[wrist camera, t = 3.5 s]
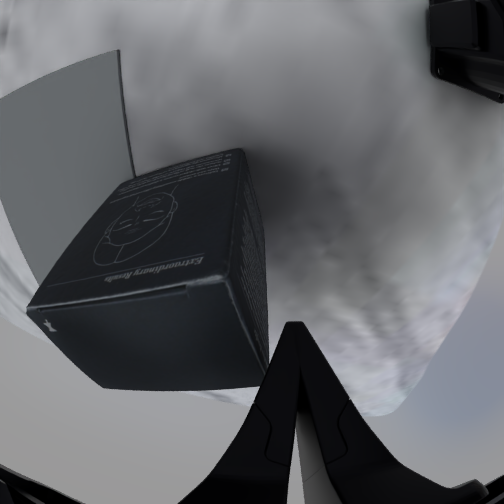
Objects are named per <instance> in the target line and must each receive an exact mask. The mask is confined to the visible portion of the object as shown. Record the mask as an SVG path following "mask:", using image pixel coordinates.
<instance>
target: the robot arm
mask: <svg viewBox="0 0 504 504" xmlns="http://www.w3.org/2000/svg"><path fill="white" fill-rule="evenodd" d="M430 4H431V6H430V7H429V9H430V42H431V44H432V55H431V72H432V75H433V76H434V77H435V78H437V79H440V80H443V81H446V82H449V83H452V84H454V85H457V86H460V87H462V88H465V89H468V90H470V91H473V92H475V93H478V94H480V95H482V96H485V97H487V98H489V99H491V100H493V101H496V102H498V103H501V104H502V103H504V0H430ZM438 68H440V70H441V74H440V75H439V73H438ZM499 95H500V97H499ZM295 427H296V434H297V441H298V449H299V457H300V465H301V474H302V482H303V491H304V499H305V504H504V475H502V476H500V477H498V478H496V479H495V480H493V481H491V482H489V483H487V484H486V485H483V484H482V483H480V482H479V481H478V480H476V479H474V480H471V481H468V482H466V483H463V484H460V485H458V486H455V487H452V488H446V487H443V486H441V485H439V484H437V483H435V482H433V481H431V480H429V479H427V478H425V477H423V476H421V475H420V474H418V473H416V472H414V471H412V470H411V469H409V468H407V467H405V466H404V465H403V464H401V463H400V462H399V461H398V460H397V459H396V458H394V456H393V455H392V454H391V453H390V452H389V450H388V449H387V448H386V447H385V446H384V444H383V443H382V442H381V441H380V439H379V438H378V437H377V436H376V435H375V433H374V432H373V431H372V430H371V429H370V427H369V426H368V425H367V423H366V422H365V421H364V419H363V418H362V416H361V415H360V413H359V412H358V410H357V408H356V407H355V405H354V404H353V402H352V400H351V399H350V397H349V396H348V394H347V392H346V391H345V389H344V387H343V386H342V384H341V382H340V381H339V379H338V378H337V376H336V374H335V373H334V371H333V369H332V368H331V366H330V365H329V363H328V361H327V360H326V358H325V356H324V355H323V353H322V352H321V350H320V348H319V347H318V345H317V343H316V342H315V340H314V339H313V337H312V335H311V334H310V332H309V330H308V329H307V327H306V326H305V324H304V323H303V322H302V321H290V322H286V324H285V326H284V329H283V331H282V334H281V336H280V339H279V341H278V344H277V347H276V349H275V352H274V354H273V357H272V359H271V361H270V364H269V366H268V369H267V371H266V374H265V376H264V378H263V381H262V383H261V386H260V388H259V390H258V393H257V395H256V397H255V400H254V403H253V404H252V406H251V408H250V411H249V413H248V415H247V417H246V419H245V421H244V423H243V425H242V427H241V428H240V430H239V432H238V433H237V435H236V437H235V438H234V440H233V441H232V443H231V444H230V446H229V447H228V449H227V450H226V452H225V453H224V454H223V456H222V457H221V459H220V460H219V462H218V463H217V464H216V466H215V467H214V469H213V470H212V471H211V472H210V474H209V475H208V476H207V477H206V478H205V479H204V480H203V481H202V482H201V483H200V484H199V485H198V486H197V487H196V488H195V489H194V490H192V491H191V492H190V493H189V494H188V495H187V496H186V497H185V498H183V499H182V500H181V501H180V502H179V503H178V504H287V494H288V483H289V474H290V466H291V460H292V452H293V444H294V436H295ZM0 504H85V503H82V502H80V501H78V500H76V499H74V498H71V497H69V496H67V495H65V494H63V493H61V492H59V491H57V490H55V489H53V488H50V487H48V486H46V485H44V484H42V483H40V482H37V481H35V480H33V479H30V478H28V477H26V476H23V475H21V474H19V473H17V472H15V471H13V470H11V469H9V468H7V467H5V466H3V465H1V464H0Z"/></svg>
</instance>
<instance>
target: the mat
mask: <svg viewBox="0 0 504 504" xmlns="http://www.w3.org/2000/svg"><path fill="white" fill-rule="evenodd" d="M134 178H135V172H134V167H133V162H132V156H131V150H130V144H129V138H128V131H127V124H126V117H125V109H124V101H123V92H122V82H121V70H120V57H119V50H114V51H111V52H107V53H104V54H101V55H98V56H95V57H92V58H89V59H86V60H83V61H80V62H78V63H75V64H72V65H70V66H67V67H65V68H62V69H60V70H57V71H55V72H53V73H50V74H48V75H46V76H43V77H41V78H39V79H37V80H35V81H33V82H31V83H29V84H27V85H25V86H23V87H21V88H19V89H17V90H15V91H13V92H12V93H10V94H8V95H6V96H5V97H3V98H1V99H0V199H1V202H2V205H3V207H4V210H5V213H6V215H7V218H8V221H9V223H10V226H11V228H12V230H13V233H14V235H15V237H16V240H17V242H18V244H19V246H20V249H21V251H22V253H23V255H24V257H25V259H26V261H27V263H28V265H29V267H30V269H31V271H32V273H33V275H34V277H35V279H36V281H37V283H38V284H39V286H40V285H41V283H42V282H43V280H44V279H45V278H46V276H47V275H48V273H49V272H50V270H51V269H52V267H53V266H54V264H55V263H56V261H57V260H58V259H59V258H60V256H61V255H62V253H63V252H64V250H65V249H66V248H67V247H68V245H69V244H70V243H71V241H72V240H73V239H74V238H75V236H76V235H77V234H78V233H79V231H80V230H81V229H82V227H83V226H84V225H85V224H86V223H87V221H88V220H89V219H90V218H91V217H92V215H93V214H94V213H95V212H96V211H97V209H98V208H99V207H100V206H101V205H102V204H103V203H104V201H105V200H106V199H107V198H108V197H109V196H110V194H112V192H113V191H114V190H115V189H116V188H117V187H118V186H119V185H120V184H121V183H123V182H126V181H128V180H131V179H134Z"/></svg>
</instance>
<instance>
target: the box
mask: <svg viewBox="0 0 504 504" xmlns="http://www.w3.org/2000/svg"><path fill="white" fill-rule="evenodd" d="M26 314H27V316H29V317H30V318H31V319H32V320H33V321H34V323H36V324H37V326H38V327H39V328H40V329H41V330H42V331H43V332H44V333H45V334H46V336H47V337H48V338H49V339H50V340H51V341H52V342H53V343H54V344H55V345H56V346H57V347H58V348H59V349H60V350H61V351H62V352H63V353H64V354H65V355H66V356H67V358H69V359H70V360H71V361H72V362H73V363H74V364H75V365H76V366H77V367H78V368H79V369H80V370H81V371H82V372H84V373H85V374H86V375H87V376H88V377H89V378H91V379H92V380H93V381H95V382H96V383H97V384H98V385H100V386H101V387H102V388H108V389H120V390H141V391H142V390H143V391H202V390H221V389H235V388H247V387H258V386H261V383H262V381H263V378H264V376H265V374H266V371H267V369H268V366H269V336H268V308H267V284H266V262H265V238H264V228H263V225H262V221H261V216H260V213H259V209H258V206H257V201H256V197H255V193H254V189H253V185H252V181H251V177H250V173H249V169H248V165H247V161H246V158H245V153H244V152H243V150H242V149H233V150H229V151H224V152H220V153H217V154H213V155H209V156H205V157H201V158H198V159H194V160H191V161H187V162H184V163H180V164H177V165H174V166H170V167H167V168H164V169H161V170H158V171H155V172H152V173H149V174H146V175H143V176H140V177H137V178H134V179H131V180H128V181H126V182H123V183H121V184H120V185H119V186H118V187H117V188H116V189H115V190H114V191H113V192H112V194H110V196H109V197H108V198H107V199H106V200H105V201H104V203H103V204H102V205H101V206H100V207H99V208H98V209H97V211H96V212H95V213H94V214H93V215H92V217H91V218H90V219H89V220H88V221H87V223H86V224H85V225H84V226H83V227H82V229H81V230H80V231H79V233H78V234H77V235H76V236H75V238H74V239H73V240H72V241H71V243H70V244H69V245H68V247H67V248H66V249H65V250H64V252H63V253H62V255H61V256H60V258H59V259H58V260H57V261H56V263H55V264H54V266H53V267H52V269H51V270H50V272H49V273H48V275H47V276H46V278H45V279H44V280H43V282H42V283H41V285H40V287H39V288H38V290H37V291H36V293H35V295H34V297H33V298H32V300H31V301H30V303H29V304H28V306H27V312H26Z"/></svg>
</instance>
